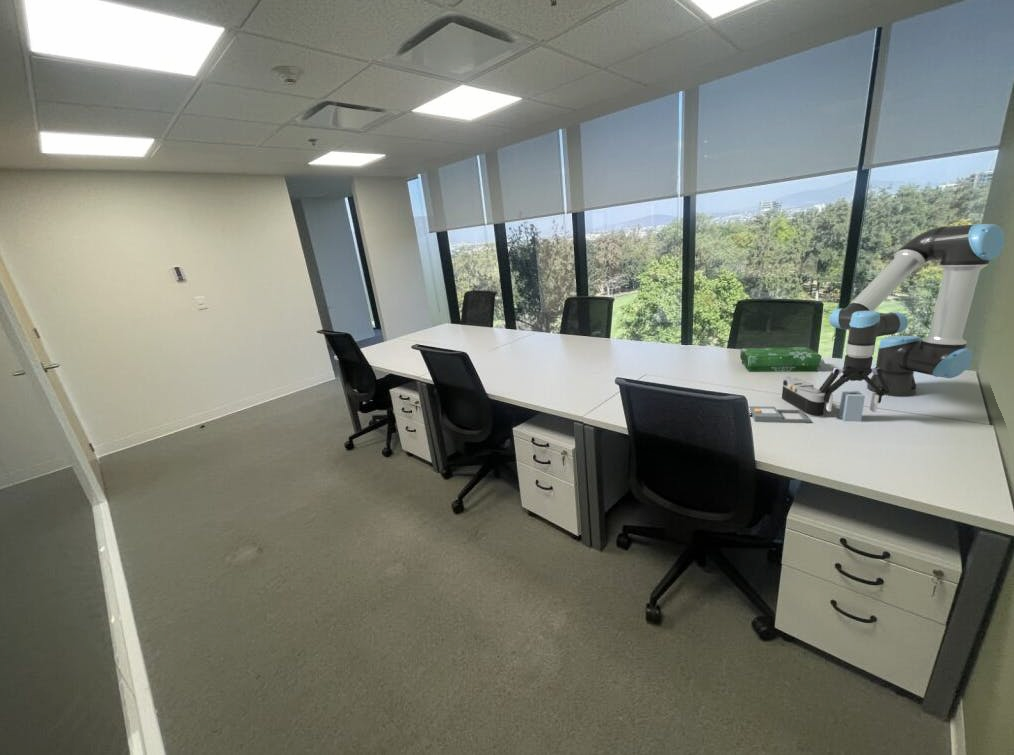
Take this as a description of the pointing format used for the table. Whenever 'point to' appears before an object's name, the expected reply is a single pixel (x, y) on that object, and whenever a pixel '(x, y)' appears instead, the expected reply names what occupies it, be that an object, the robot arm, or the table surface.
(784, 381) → the camera
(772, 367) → the box
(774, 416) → the grey rectangular base
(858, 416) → the block
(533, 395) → the table surface
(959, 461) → the table surface
